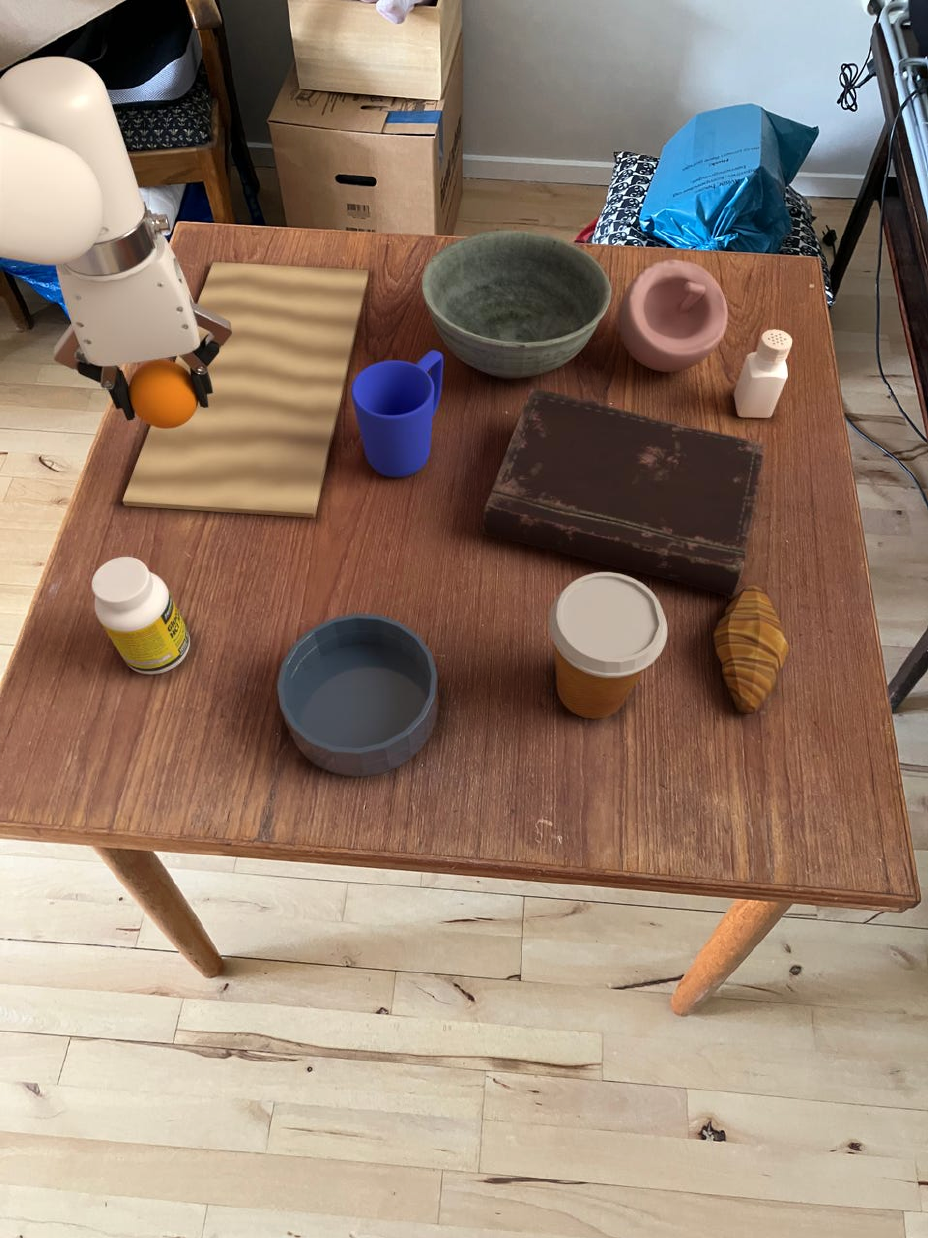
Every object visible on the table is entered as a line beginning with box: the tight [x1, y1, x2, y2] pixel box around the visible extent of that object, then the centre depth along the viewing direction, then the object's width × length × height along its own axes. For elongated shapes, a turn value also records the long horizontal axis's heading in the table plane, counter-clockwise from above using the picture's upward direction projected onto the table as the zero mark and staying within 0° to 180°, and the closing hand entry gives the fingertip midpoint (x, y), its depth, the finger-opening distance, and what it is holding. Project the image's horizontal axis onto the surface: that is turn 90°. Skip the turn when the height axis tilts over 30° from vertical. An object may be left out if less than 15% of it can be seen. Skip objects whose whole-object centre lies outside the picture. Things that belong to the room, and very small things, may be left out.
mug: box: [350, 349, 444, 479], centre depth 92 cm, size 8×12×10 cm
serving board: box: [122, 261, 369, 519], centre depth 101 cm, size 40×20×1 cm, turn 175°
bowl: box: [421, 230, 612, 380], centre depth 100 cm, size 21×21×10 cm
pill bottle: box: [91, 556, 191, 675], centre depth 77 cm, size 6×6×11 cm
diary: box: [481, 387, 766, 597], centre depth 90 cm, size 19×25×5 cm
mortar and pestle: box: [617, 258, 729, 373], centre depth 99 cm, size 12×12×12 cm
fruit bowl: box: [276, 613, 439, 778], centre depth 77 cm, size 13×13×5 cm
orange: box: [128, 359, 199, 429], centre depth 84 cm, size 6×6×6 cm
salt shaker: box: [733, 328, 793, 419], centre depth 95 cm, size 4×4×10 cm
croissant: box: [713, 585, 790, 715], centre depth 80 cm, size 14×7×5 cm, turn 168°
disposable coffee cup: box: [548, 571, 668, 720], centre depth 75 cm, size 10×10×12 cm
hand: (167, 402), depth 85 cm, fingers closed on orange, 6 cm apart
